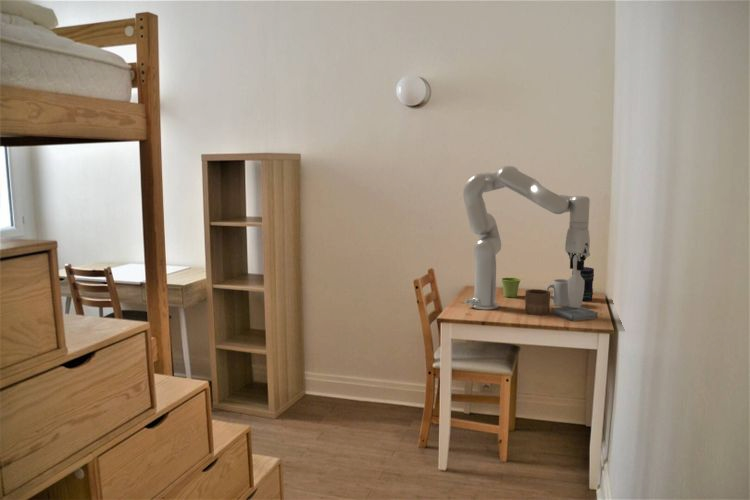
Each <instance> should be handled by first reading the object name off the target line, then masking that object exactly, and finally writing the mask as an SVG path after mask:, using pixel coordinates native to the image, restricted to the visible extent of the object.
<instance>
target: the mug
mask: <svg viewBox="0 0 750 500" xmlns="http://www.w3.org/2000/svg"><path fill="white" fill-rule="evenodd" d="M545 288H546V289H545V290H546V291H549V289H550V288H552V295H550V300H552V305H553V306H556V307H567V306H569V300H568V279H562V278H561V279H560V278H559V279H554V280H553V283H550V284H548V285H547V286H546V287H545Z"/></svg>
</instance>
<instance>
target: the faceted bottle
mask: <svg viewBox="0 0 750 500" xmlns="http://www.w3.org/2000/svg"><path fill="white" fill-rule="evenodd" d="M577 261H578V254H577V255H574V258H573V270H572V271H573V275H572V274H571V276H570V277H569V278H568V279H567V280H568V300H569V306H570V307H573V308H579V307H582V304H583V302H582V300H583V294H584V283H585V281H584V279H583V278H582V277H581V275H580V271H581V270H577Z"/></svg>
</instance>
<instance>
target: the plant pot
mask: <svg viewBox="0 0 750 500" xmlns="http://www.w3.org/2000/svg"><path fill="white" fill-rule="evenodd" d="M500 280H501V284H502V289H503V296H504V297H505V298H510V299H512V298H517V297H518V291H519V286H520V283H521V280H522V279H521V278H518V277H502V278H500Z"/></svg>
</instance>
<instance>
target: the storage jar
mask: <svg viewBox="0 0 750 500" xmlns="http://www.w3.org/2000/svg"><path fill="white" fill-rule="evenodd" d="M571 270H572V273H571V276H572V275H573V269H571ZM594 271H595V269H594V268H593V267H587V266H584V270H581V271H580V275H581V277H582V278H583V279H584V281H585V283H584V294H583V300H582V303H583V302H585V303H586V302H592V301H593V295H594V288H593V287H594V286H593V283H594V277H595V273H594Z"/></svg>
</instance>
